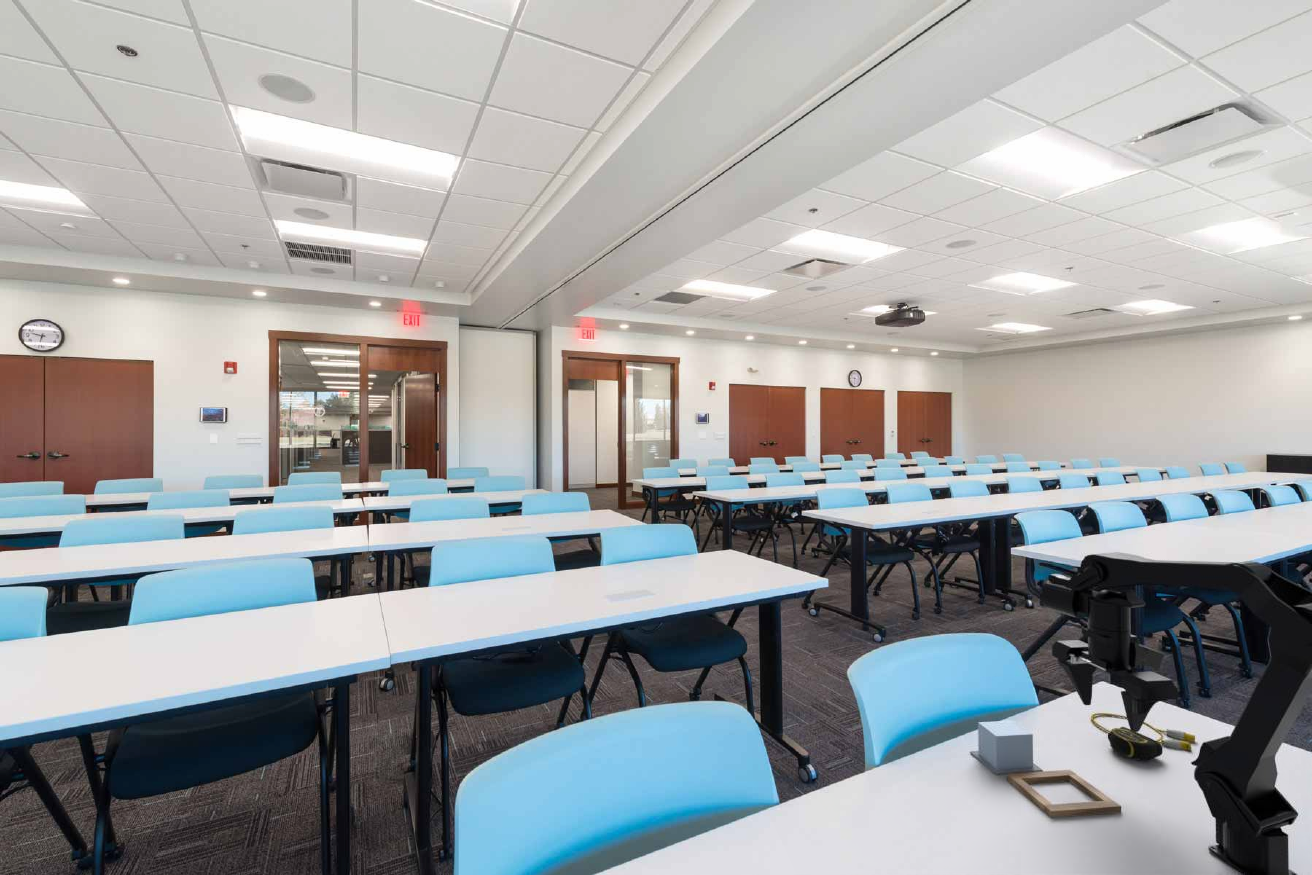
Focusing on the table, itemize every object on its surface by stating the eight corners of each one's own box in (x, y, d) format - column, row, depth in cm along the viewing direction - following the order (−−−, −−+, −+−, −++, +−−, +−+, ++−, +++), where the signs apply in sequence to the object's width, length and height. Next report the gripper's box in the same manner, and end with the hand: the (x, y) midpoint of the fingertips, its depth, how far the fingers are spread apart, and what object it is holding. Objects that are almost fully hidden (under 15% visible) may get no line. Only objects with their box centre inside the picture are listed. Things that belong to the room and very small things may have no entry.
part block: (1033, 767, 102) (1032, 734, 102) (996, 769, 101) (996, 736, 101) (1013, 751, 107) (1013, 720, 107) (978, 753, 106) (978, 722, 106)
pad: (1042, 771, 101) (1042, 769, 101) (995, 774, 100) (995, 772, 100) (1014, 750, 108) (1014, 748, 108) (970, 752, 107) (970, 751, 107)
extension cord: (1172, 763, 104) (1171, 752, 104) (1078, 724, 119) (1078, 714, 119) (1205, 747, 109) (1205, 737, 109) (1112, 712, 124) (1111, 703, 124)
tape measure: (1165, 761, 104) (1165, 741, 104) (1139, 768, 102) (1139, 747, 102) (1124, 742, 111) (1124, 723, 111) (1100, 748, 109) (1099, 729, 109)
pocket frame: (1121, 812, 90) (1121, 805, 90) (1051, 817, 89) (1051, 811, 89) (1070, 775, 100) (1070, 769, 100) (1006, 779, 99) (1006, 773, 99)
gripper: (1209, 644, 88) (1211, 744, 88) (1104, 608, 106) (1105, 690, 106) (1143, 647, 87) (1145, 748, 87) (1049, 610, 105) (1050, 693, 105)
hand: (1109, 717), depth 96 cm, fingers open, 9 cm apart
